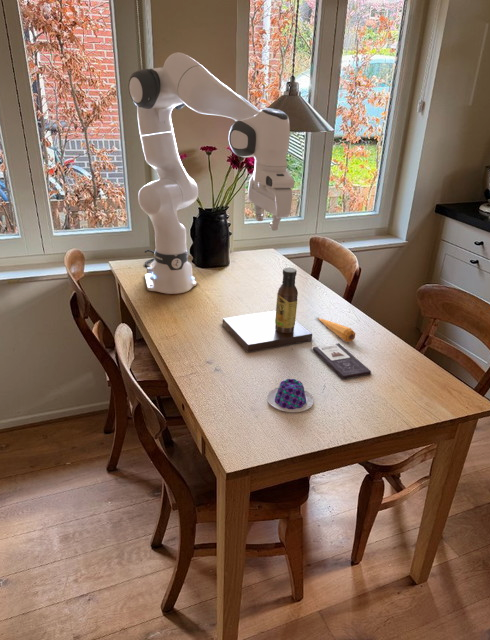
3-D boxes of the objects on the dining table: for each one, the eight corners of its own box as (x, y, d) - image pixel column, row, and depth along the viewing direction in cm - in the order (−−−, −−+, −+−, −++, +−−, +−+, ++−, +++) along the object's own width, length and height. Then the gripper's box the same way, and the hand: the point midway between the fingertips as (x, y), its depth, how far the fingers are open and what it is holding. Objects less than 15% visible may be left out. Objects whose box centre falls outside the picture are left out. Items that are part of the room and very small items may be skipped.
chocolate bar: (343, 376, 147) (313, 347, 161) (342, 379, 147) (312, 350, 161) (370, 371, 150) (338, 343, 164) (370, 374, 151) (338, 346, 165)
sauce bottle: (272, 326, 169) (276, 265, 159) (291, 325, 170) (296, 265, 160) (277, 335, 164) (282, 273, 154) (297, 333, 165) (303, 272, 155)
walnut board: (222, 325, 173) (222, 318, 172) (281, 316, 182) (282, 309, 181) (248, 352, 158) (248, 344, 157) (311, 340, 167) (312, 333, 166)
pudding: (323, 406, 135) (325, 389, 133) (284, 419, 129) (285, 401, 127) (295, 384, 144) (297, 367, 141) (257, 396, 138) (259, 378, 135)
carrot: (354, 345, 168) (359, 331, 167) (343, 342, 165) (349, 328, 164) (319, 325, 184) (324, 313, 183) (309, 322, 181) (314, 310, 180)
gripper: (244, 167, 153) (241, 216, 160) (276, 183, 138) (272, 236, 145) (263, 167, 156) (260, 215, 163) (297, 182, 140) (292, 234, 147)
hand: (266, 225), depth 154 cm, fingers open, 8 cm apart
